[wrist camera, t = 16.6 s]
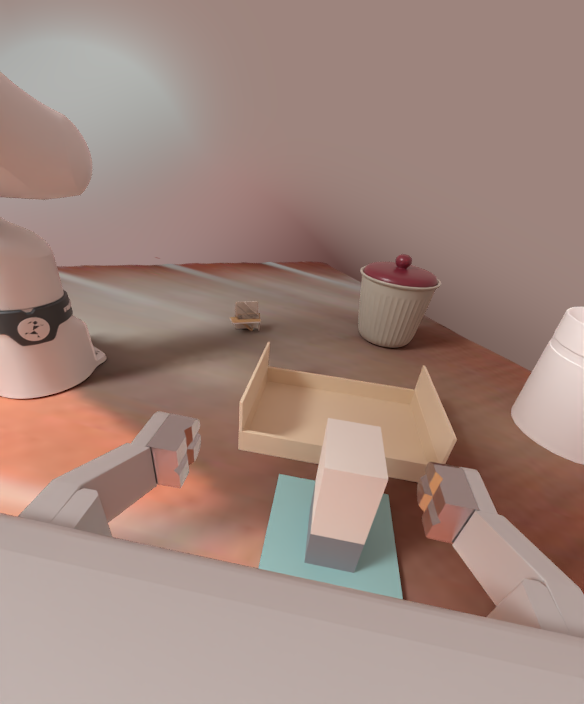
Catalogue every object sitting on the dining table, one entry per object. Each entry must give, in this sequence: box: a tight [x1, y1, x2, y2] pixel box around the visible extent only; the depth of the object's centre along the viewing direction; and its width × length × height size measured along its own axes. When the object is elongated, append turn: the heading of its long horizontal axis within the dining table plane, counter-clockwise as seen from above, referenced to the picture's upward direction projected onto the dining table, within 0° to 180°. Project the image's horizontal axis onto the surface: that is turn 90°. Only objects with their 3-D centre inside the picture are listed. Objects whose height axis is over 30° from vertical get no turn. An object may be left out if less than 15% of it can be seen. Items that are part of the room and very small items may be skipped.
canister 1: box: [358, 254, 441, 348], centre depth 76 cm, size 18×18×21 cm
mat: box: [259, 474, 403, 599], centre depth 34 cm, size 14×14×1 cm
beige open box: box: [238, 342, 457, 482], centre depth 49 cm, size 17×27×8 cm, turn 82°
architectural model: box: [230, 301, 261, 331], centre depth 75 cm, size 3×7×7 cm, turn 109°
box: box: [304, 418, 388, 573], centre depth 31 cm, size 6×5×14 cm
